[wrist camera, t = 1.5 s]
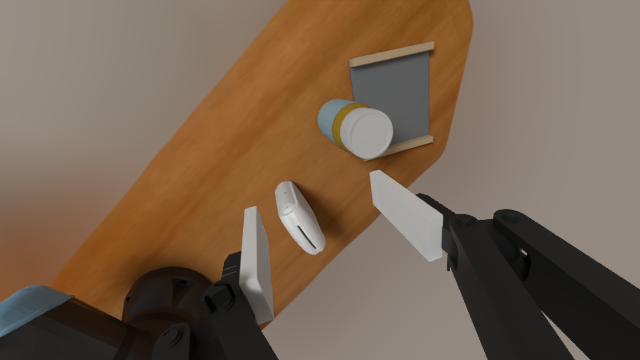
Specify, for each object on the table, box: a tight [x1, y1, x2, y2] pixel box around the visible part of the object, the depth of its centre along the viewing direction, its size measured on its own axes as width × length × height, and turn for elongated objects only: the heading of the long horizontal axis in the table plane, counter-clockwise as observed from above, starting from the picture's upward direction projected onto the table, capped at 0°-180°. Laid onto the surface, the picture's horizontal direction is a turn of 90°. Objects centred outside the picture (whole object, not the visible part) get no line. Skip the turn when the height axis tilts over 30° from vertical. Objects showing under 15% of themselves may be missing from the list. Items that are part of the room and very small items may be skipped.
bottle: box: [317, 99, 393, 159], centre depth 36 cm, size 7×7×15 cm
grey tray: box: [348, 41, 434, 161], centre depth 44 cm, size 15×18×2 cm
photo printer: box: [275, 181, 326, 255], centre depth 42 cm, size 10×4×12 cm, turn 29°
